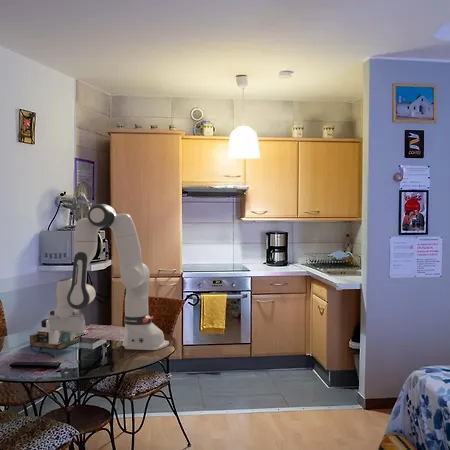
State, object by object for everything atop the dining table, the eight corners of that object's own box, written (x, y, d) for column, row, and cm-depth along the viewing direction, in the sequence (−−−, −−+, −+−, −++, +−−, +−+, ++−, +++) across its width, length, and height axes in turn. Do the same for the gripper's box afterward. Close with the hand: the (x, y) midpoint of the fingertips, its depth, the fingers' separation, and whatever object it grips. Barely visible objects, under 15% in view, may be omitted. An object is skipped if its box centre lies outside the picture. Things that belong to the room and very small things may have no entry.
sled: (79, 341, 234) (78, 329, 234) (59, 349, 222) (59, 336, 222) (50, 338, 242) (50, 327, 242) (29, 345, 229) (29, 333, 229)
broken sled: (88, 333, 252) (88, 325, 252) (70, 339, 239) (70, 331, 239) (60, 330, 259) (60, 323, 259) (42, 336, 247) (41, 328, 247)
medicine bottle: (37, 344, 231) (36, 320, 231) (48, 341, 237) (47, 317, 237) (48, 346, 228) (48, 321, 228) (59, 342, 235) (58, 318, 234)
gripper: (88, 311, 227) (88, 340, 227) (55, 309, 235) (55, 336, 236) (79, 314, 221) (79, 343, 222) (45, 311, 230) (46, 339, 230)
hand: (67, 340), depth 229 cm, fingers closed on sled, 3 cm apart
